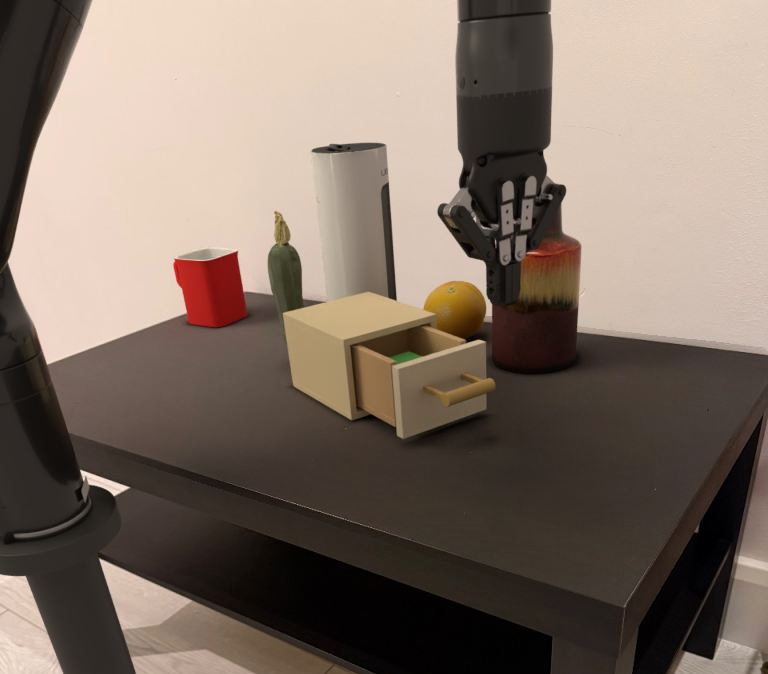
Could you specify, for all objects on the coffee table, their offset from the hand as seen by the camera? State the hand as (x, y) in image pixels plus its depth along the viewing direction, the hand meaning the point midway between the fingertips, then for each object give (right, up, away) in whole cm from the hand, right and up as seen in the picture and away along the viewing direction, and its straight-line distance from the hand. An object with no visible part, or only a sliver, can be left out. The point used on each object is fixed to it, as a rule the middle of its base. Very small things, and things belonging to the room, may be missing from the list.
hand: (503, 303), depth 69 cm
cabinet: (-13, -3, +27) cm, 30 cm away
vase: (+9, +1, +32) cm, 33 cm away
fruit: (-1, +6, +41) cm, 41 cm away
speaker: (-14, +8, +46) cm, 49 cm away
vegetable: (-23, +1, +37) cm, 43 cm away
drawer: (-6, -8, +17) cm, 20 cm away
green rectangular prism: (-7, -6, +18) cm, 20 cm away
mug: (-40, +14, +60) cm, 73 cm away
